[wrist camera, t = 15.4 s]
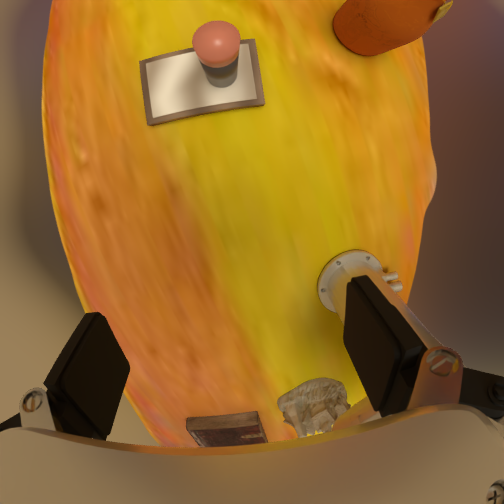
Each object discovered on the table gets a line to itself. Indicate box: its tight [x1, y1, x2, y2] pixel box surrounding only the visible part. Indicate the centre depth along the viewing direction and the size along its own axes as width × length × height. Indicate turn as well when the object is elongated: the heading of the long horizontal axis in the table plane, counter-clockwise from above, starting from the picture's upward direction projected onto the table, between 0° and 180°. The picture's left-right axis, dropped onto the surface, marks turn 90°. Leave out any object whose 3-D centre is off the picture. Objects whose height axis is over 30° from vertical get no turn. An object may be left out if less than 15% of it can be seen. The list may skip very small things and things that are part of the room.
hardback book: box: [186, 411, 268, 447], centre depth 66 cm, size 29×19×5 cm, turn 10°
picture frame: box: [139, 39, 265, 126], centre depth 32 cm, size 16×10×3 cm, turn 98°
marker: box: [192, 21, 240, 88], centre depth 24 cm, size 4×4×14 cm
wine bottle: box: [333, 0, 452, 56], centre depth 16 cm, size 10×10×30 cm
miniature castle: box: [277, 378, 351, 438], centre depth 55 cm, size 16×16×15 cm
